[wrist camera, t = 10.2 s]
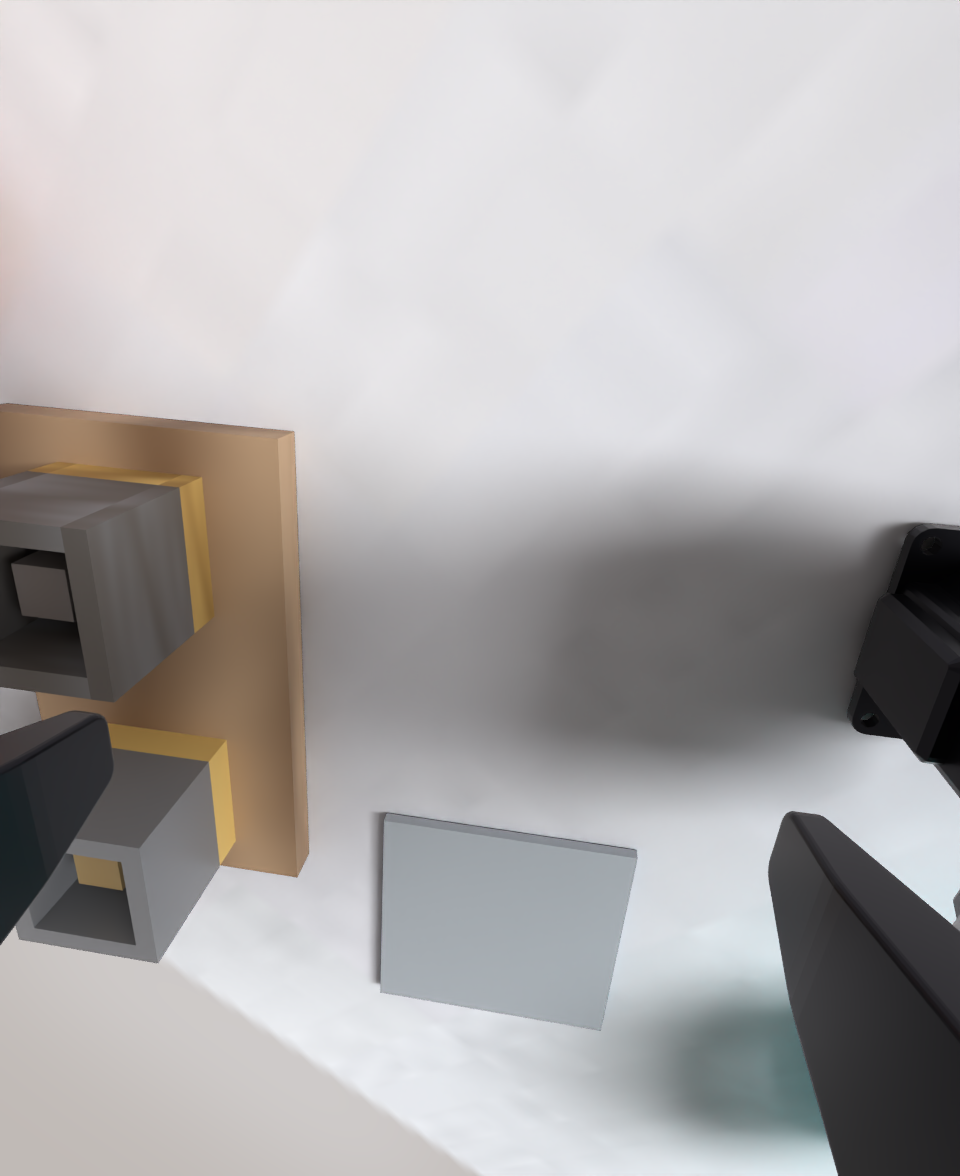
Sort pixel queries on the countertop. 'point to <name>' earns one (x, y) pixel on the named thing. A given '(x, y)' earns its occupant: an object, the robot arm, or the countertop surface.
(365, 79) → the countertop surface
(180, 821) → the sleeve
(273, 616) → the pin board
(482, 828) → the mat
